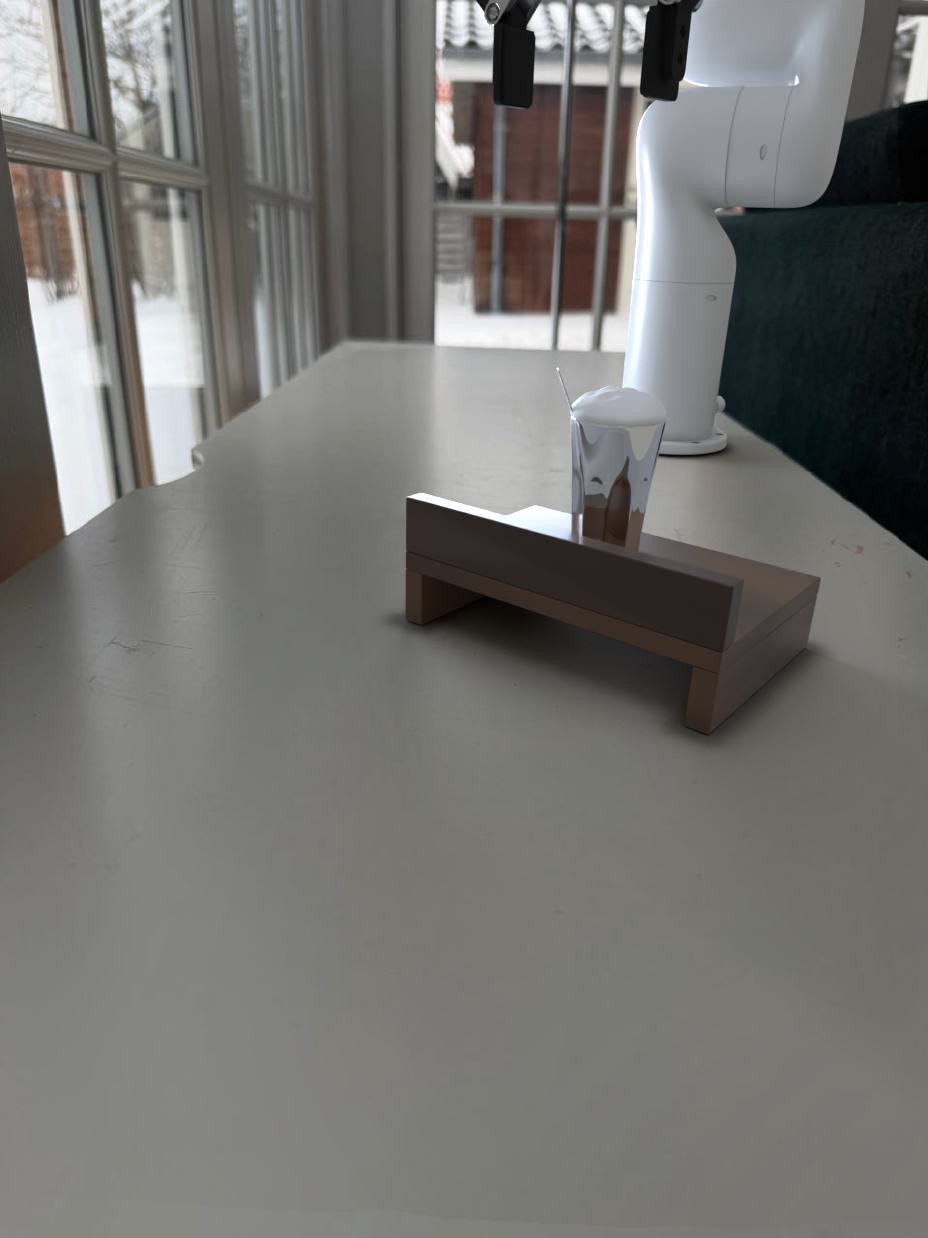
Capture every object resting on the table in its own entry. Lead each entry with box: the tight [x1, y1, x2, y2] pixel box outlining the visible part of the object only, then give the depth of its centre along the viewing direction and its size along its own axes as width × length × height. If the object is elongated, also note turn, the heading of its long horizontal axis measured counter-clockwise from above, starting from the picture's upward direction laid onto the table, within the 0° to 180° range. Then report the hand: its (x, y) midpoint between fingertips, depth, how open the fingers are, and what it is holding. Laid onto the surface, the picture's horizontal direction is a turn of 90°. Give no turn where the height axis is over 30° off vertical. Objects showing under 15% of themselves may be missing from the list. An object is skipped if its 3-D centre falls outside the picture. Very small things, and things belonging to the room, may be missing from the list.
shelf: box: [404, 492, 822, 735], centre depth 46 cm, size 12×18×7 cm, turn 51°
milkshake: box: [556, 368, 667, 551], centre depth 43 cm, size 4×5×10 cm
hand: (581, 102), depth 50 cm, fingers open, 9 cm apart
